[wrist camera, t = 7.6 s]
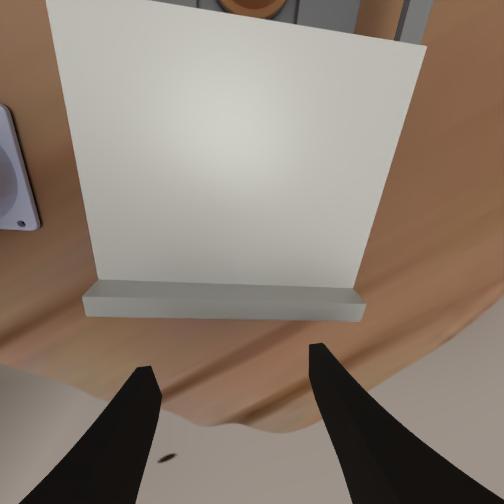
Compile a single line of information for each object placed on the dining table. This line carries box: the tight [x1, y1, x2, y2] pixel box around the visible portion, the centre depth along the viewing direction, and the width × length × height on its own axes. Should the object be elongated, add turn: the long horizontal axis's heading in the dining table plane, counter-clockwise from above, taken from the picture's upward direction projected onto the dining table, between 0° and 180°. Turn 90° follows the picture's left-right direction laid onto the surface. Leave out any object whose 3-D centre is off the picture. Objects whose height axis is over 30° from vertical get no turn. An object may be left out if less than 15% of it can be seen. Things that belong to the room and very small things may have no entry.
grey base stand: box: [151, 0, 434, 45], centre depth 13 cm, size 15×24×6 cm, turn 175°
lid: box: [46, 0, 427, 321], centre depth 11 cm, size 15×13×2 cm
